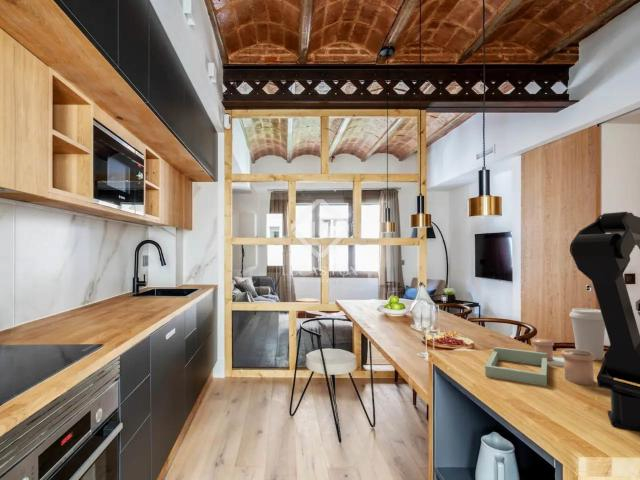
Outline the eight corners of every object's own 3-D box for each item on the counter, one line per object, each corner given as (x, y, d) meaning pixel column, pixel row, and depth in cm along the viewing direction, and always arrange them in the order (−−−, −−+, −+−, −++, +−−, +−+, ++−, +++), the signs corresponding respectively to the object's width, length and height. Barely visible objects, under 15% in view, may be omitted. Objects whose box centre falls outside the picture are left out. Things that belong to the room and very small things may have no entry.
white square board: (572, 370, 100) (572, 367, 100) (523, 363, 106) (523, 361, 106) (570, 360, 109) (570, 358, 109) (525, 354, 115) (525, 352, 115)
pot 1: (554, 362, 105) (553, 343, 105) (532, 359, 108) (531, 341, 108) (554, 357, 109) (553, 339, 109) (533, 355, 112) (532, 337, 113)
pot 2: (597, 388, 86) (596, 358, 86) (562, 383, 90) (561, 354, 90) (595, 379, 92) (593, 351, 92) (562, 375, 96) (561, 347, 96)
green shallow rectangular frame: (546, 387, 88) (546, 371, 88) (485, 377, 96) (485, 362, 96) (547, 367, 103) (546, 353, 103) (494, 359, 111) (494, 346, 111)
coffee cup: (573, 360, 108) (571, 311, 109) (568, 352, 117) (566, 307, 117) (613, 364, 104) (610, 313, 104) (605, 355, 112) (603, 308, 113)
